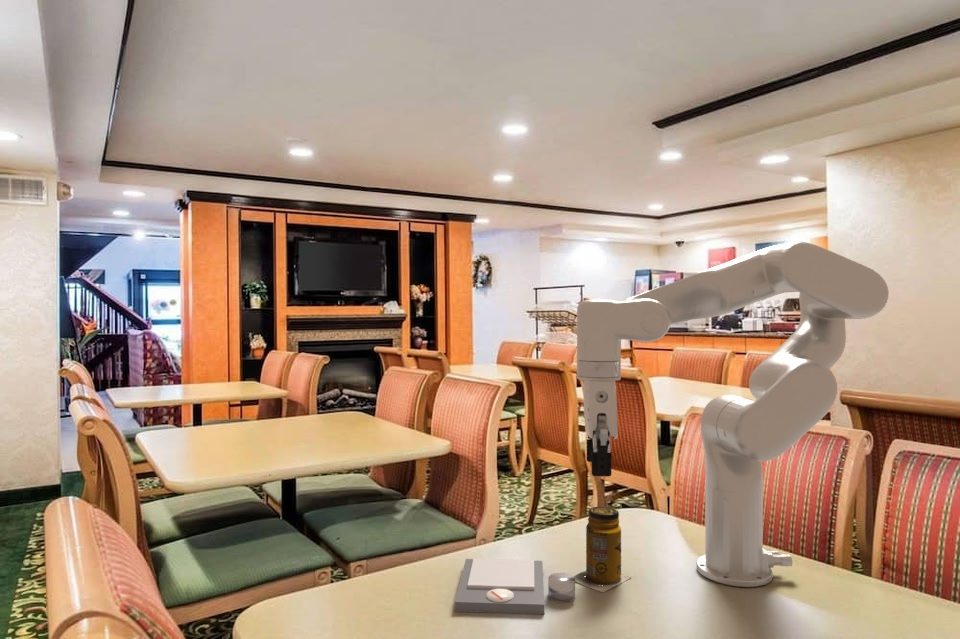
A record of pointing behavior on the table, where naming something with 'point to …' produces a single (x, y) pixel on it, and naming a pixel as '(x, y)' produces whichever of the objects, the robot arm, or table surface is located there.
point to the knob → (561, 587)
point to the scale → (501, 586)
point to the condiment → (602, 550)
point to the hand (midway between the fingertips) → (598, 468)
